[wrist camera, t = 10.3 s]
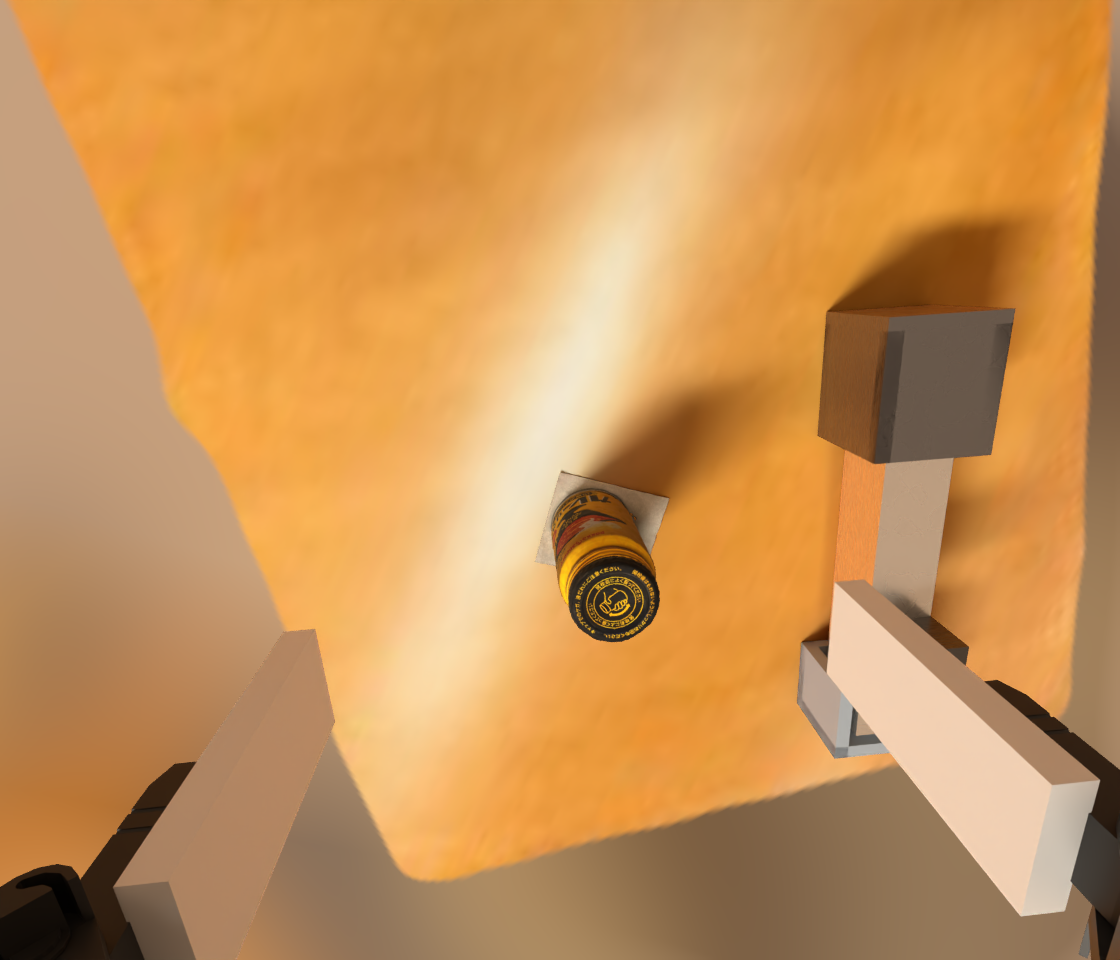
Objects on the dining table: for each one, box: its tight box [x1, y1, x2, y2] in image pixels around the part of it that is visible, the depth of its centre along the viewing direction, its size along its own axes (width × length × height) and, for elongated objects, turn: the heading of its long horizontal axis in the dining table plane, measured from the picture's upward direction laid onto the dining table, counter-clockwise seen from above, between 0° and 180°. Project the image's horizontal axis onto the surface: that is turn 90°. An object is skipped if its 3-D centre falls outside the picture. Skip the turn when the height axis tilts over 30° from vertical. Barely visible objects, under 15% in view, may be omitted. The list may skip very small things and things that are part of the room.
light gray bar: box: [827, 450, 969, 736], centre depth 43 cm, size 22×4×9 cm, turn 4°
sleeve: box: [818, 305, 1015, 464], centre depth 40 cm, size 9×8×7 cm
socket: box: [797, 640, 890, 759], centre depth 48 cm, size 6×8×6 cm
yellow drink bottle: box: [535, 473, 669, 642], centre depth 40 cm, size 7×8×12 cm
